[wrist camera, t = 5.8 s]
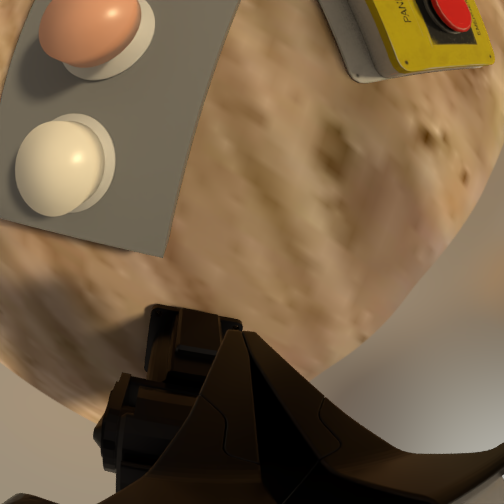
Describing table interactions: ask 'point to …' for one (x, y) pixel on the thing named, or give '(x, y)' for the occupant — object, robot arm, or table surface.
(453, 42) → the emergency button
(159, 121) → the console
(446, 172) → the table surface
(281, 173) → the table surface
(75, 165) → the cream button
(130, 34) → the terracotta button
